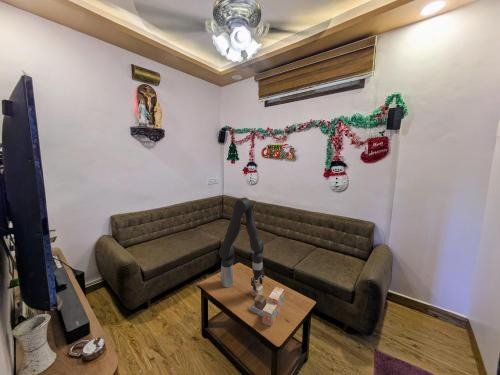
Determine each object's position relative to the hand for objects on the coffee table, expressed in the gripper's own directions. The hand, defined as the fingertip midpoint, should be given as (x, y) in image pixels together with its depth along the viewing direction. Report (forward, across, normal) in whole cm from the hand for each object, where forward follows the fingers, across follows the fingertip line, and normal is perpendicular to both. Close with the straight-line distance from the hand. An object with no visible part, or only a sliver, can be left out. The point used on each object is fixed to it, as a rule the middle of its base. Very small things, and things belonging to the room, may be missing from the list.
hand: (257, 286), depth 155 cm
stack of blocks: (+7, +9, +18) cm, 22 cm away
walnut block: (+5, +10, +8) cm, 14 cm away
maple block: (+6, 0, -1) cm, 6 cm away
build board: (+6, +10, +8) cm, 14 cm away
